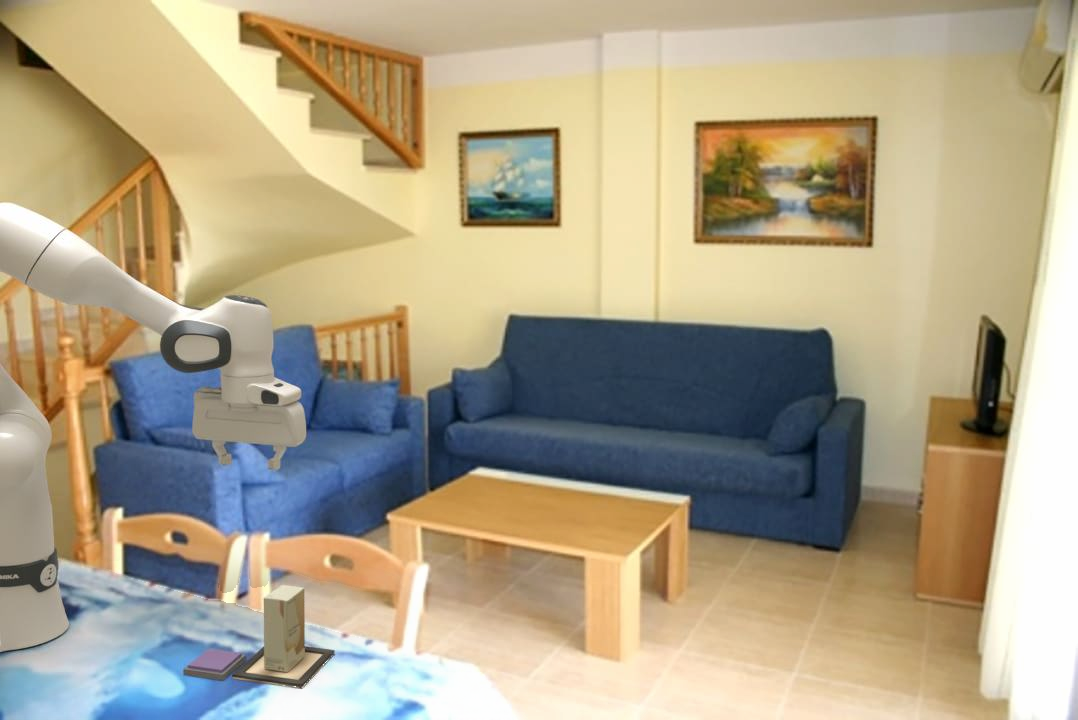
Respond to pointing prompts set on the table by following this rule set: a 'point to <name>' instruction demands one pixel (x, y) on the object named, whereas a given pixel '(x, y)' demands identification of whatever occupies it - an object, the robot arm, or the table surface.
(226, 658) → the pad
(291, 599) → the skincare box
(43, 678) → the table surface
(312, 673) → the framed board
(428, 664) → the table surface
